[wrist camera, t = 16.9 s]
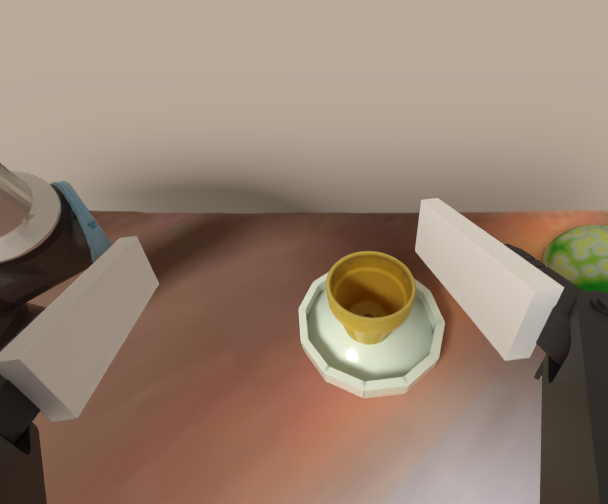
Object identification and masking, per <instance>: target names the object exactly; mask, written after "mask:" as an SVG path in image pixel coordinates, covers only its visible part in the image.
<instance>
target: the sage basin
mask: <svg viewBox="0 0 608 504" xmlns="http://www.w3.org/2000/svg"><path fill="white" fill-rule="evenodd" d="M328 273H329V272H328ZM328 273H326V274H325V275H323V276H322V277H320V278H319V279H317V280H315V281H314V282H313V283H312V285H311V287H310V289H309V290H308V292H307V294H306V296H305V298H304V300H303V301H302V303H301V305H300V307H299V322H300V338H301V343H302V346H303V349H304V352H305V353H306V354H307V356H308V357H309V359H310V360H311V361H312V363H313V364H314V366H315V367H316V368H317V370H318V371H319V373H320V374H321V375H322V377H323V378H324V380H325V381H326V382H329V383H331V384H333V385H335V386H337V387H340V388H342V389H344V390H346V391H348V392H351V393H353V394H355V395H357V396H359V397H362V398H372V397H380V396H389V395H397V394H405V393H407V392H408V391H409V390H410V389H411V388H412V387H413V386H414V385H416V384H417V383H418V382H419V381H420V380H421V379H422V378H423V377H424V376H426V375H427V374H428V373H429V372H430V371H431V370H432V369H433V368H434V367H435V365H436V363H437V361H438V359H439V355H440V350H441V344H442V338H443V332H444V326H445V321H444V319H443V317H442V315H441V313H440V311H439V308H438V306H437V304H436V302H435V300H434V298H433V296H432V293H431V291H430V290H429V289H428V288H426V287H425V286H424V285H422V284H421V283H420V282H418V281H417V280H416V279H414V280H415V283H416V296H415V300H414V304H413V307H412V309H411V312H410V314H409V316H408V318H407V319H406V321H405V322H404V323H403V324H402V325H401V326H399V327H398V328H396V329H394V330H392V331H391V333H390V334H389V335H388V337H387V338H386V339H385V340H383V341H382V342H380V343H377V344H373V345H366V344H362V343H359V342H357V341H355V340H353V339H352V338H351V337H350V336H349V335H348V334H347V332H346V330H345V328H344V326H343V324H342V323H340V322H339V321H338V320H337V319H336V317H335V316H334V315H333V313H332V311H331V309H330V307H329V303H328V298H327V292H326V279H327V275H328Z"/></svg>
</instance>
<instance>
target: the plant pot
mask: <svg viewBox="0 0 608 504" xmlns="http://www.w3.org/2000/svg"><path fill="white" fill-rule="evenodd" d="M326 292H327V298H328V303H329V307H330V309H331V311H332V313H333V315H334V316H335V317H336V319H337V320H338V321H339V322H340V323H342V324H343V326H344V328H345V330H346V332H347V334H348V335H349V336H350V337H351V338H352V339H353V340H355V341H357V342H359V343H362V344H366V345H373V344H377V343H380V342H382V341H383V340H385V339H386V338H387V337H388V335H389V334H390V333H391V331H392V330H394V329H396V328H398V327H399V326H401V325H402V324H403V323H404V322H405V321H406V319H407V318H408V316H409V314H410V312H411V309H412V307H413V304H414V300H415V296H416V283H415V280H414V277H413V275H412V273H411V272H410V270H409V269H408V268H407V267H406V266H405V265H404V264H403V263H402V262H401V261H399V260H398V259H396V258H394V257H392V256H390V255H388V254H384V253H381V252H375V251H361V252H356V253H352V254H349V255H347V256H345V257H343V258H341V259H340V260H338V261H337V262H336V263H335V264H334V265H333V266H332V268H331V269H330V271H329V273H328V275H327V279H326Z"/></svg>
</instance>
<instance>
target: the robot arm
mask: <svg viewBox="0 0 608 504" xmlns="http://www.w3.org/2000/svg"><path fill="white" fill-rule="evenodd" d="M415 252H416V253H417V254H418V255H419V256H420V258H421V259H422V260H423V261H424V263H425V264H426V265H427V266H428V267H429V269H430V270H431V271H432V272H433V273H434V275H435V276H436V277H437V278H438V280H439V281H440V282H441V283H442V284H443V286H444V287H445V288H446V289H447V291H448V292H449V293H450V294H451V295H452V297H453V298H454V299H455V300H456V301H457V303H458V304H459V305H460V306H461V308H462V309H463V310H464V311H465V312H466V314H467V315H468V316H469V317H470V318H471V320H472V321H473V322H474V323H475V325H476V326H477V327H478V328H479V329H480V331H481V332H482V333H483V334H484V336H485V337H486V338H487V339H488V340H489V342H490V343H491V344H492V345H493V346H494V348H495V349H496V350H497V351H498V353H499V354H500V355H501V356H502V357H503V359H504V360H505V361H509V360H516V359H524V358H530V357H531V354H532V352H533V350H534V348H535V346H536V344H538V345H539V346H540V347H541V348H542V349H543V350H544V351H545V352H546V353H547V354H546V356H545V357H544V359H543V361H542V363H541V365H540V367H539V369H538V371H537V372H536V375H535V377H534V378H536V379H538V380H539V378H540V376H541V375H542V426H541V481H540V504H608V293H606V292H599V291H583V290H582V289H580V288H579V287H577V286H576V285H574V284H573V283H571V282H570V281H568V280H567V279H565V278H564V277H562V276H561V275H560V274H558V273H557V272H555V271H554V270H552V269H551V268H549V267H546V265H545V264H543V263H542V262H540V261H539V260H535V258H534V257H533V256H531V255H530V254H528V253H527V252H525V251H524V250H522V249H519V248H517V247H514V246H512V245H509V244H502V243H501V242H499V241H498V240H496V239H495V238H494V237H492V236H491V235H489V234H488V233H487V232H485V231H484V230H482V229H481V228H479V227H478V226H477V225H475V224H474V223H472V222H471V221H470V220H468V219H467V218H465V217H464V216H463V215H461V214H460V213H458V212H457V211H455V210H454V209H452V208H451V207H450V206H448V205H447V204H446V203H444V202H443V201H441V200H440V199H438V198H433V199H426V200H421V206H420V214H419V222H418V230H417V238H416V246H415ZM86 269H87V270H86ZM84 270H86V271H85V272H84V273H83V274H82V275H81V276H79V277H78V278H77V279H76V280H75V281H74V282H73V283H72V284H71V285H70V286H69V287H68V288H67V289H66V290H65V291H64V292H63V293H62V294H61V295H60V296H58V297H57V298H56V299H55V300H54V301H53V302H52V303H51V304H50V305H49V306H48V307H43V306H38V305H34V304H30V303H27V302H28V301H30V300H31V299H33V298H35V297H37V296H39V295H40V294H42V293H44V292H46V291H48V290H49V289H51V288H53V287H55V286H57V285H58V284H60V283H62V282H64V281H66V280H67V279H69V278H71V277H73V276H75V275H77V274H78V273H80V272H82V271H84ZM158 285H159V282H158V280H157V278H156V276H155V274H154V272H153V270H152V268H151V265H150V263H149V261H148V259H147V257H146V255H145V253H144V251H143V249H142V246H141V244H140V242H139V240H138V238H137V236H133V237H125V238H119V239H118V240H117V241H116V242H115V243H114V244H113V245H112V244H111V242H110V240H109V239H108V238H107V236H106V235H105V233H104V232H103V230H102V229H101V228H100V226H99V225H98V223H97V222H96V220H95V219H94V217H93V216H92V215H91V213H90V212H89V210H88V209H87V207H86V206H85V205H84V204H83V202H82V200H81V199H80V198H79V196H78V195H77V193H76V192H75V190H74V189H73V187H72V186H71V185H70V184H69V183H68V182H65V181H61V182H53V183H51V184H50V185H49V184H48V183H47V182H45V181H44V180H43V179H41V178H39V177H37V176H34V175H31V174H28V173H23V172H16V171H10V170H8V169H7V168H6V167H5V166H3V165H2V164H1V163H0V504H47V502H46V493H45V484H44V475H43V466H42V457H41V448H40V439H39V430H38V428H37V427H36V425H35V424H34V423H32V421H33V420H34V418H35V417H36V416H37V414H38V413H39V412H40V411H41V412H42V413H43V414H44V415H45V416H46V417H47V418H48V419H50V420H51V421H52V422H54V421H62V420H69V419H77V418H78V417H79V415H80V413H81V412H82V410H83V409H84V407H85V405H86V404H87V402H88V400H89V399H90V397H91V395H92V394H93V392H94V390H95V389H96V387H97V385H98V384H99V382H100V381H101V379H102V377H103V376H104V374H105V372H106V371H107V369H108V367H109V366H110V364H111V362H112V361H113V359H114V357H115V356H116V354H117V353H118V351H119V349H120V348H121V346H122V344H123V343H124V341H125V339H126V338H127V336H128V334H129V333H130V331H131V329H132V328H133V326H134V325H135V323H136V321H137V320H138V318H139V316H140V315H141V313H142V311H143V310H144V308H145V306H146V305H147V303H148V301H149V300H150V298H151V297H152V295H153V293H154V292H155V290H156V288H157V287H158Z"/></svg>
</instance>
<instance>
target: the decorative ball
mask: <svg viewBox="0 0 608 504" xmlns="http://www.w3.org/2000/svg"><path fill="white" fill-rule="evenodd" d="M543 264H545V265H546V267H549V268H551V269H552V270H554V271H555V272H557V273H558V274H560V275H561V276H562V277H564V278H565V279H567V280H568V281H570V282H571V283H573V284H574V285H576V286H577V287H579V288H580V289H582V290H583V291H599V292H606V293H608V226H604V225H585V226H578V227H575V228H573V229H571V230H568V231H567V232H565V233H563V234H561V235H559V236H558V237H556V238H555V239H554V240H553V241H552V242H551V243H550V244H549V245H548V247H547V248H546V249H545V252H544V255H543Z"/></svg>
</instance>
